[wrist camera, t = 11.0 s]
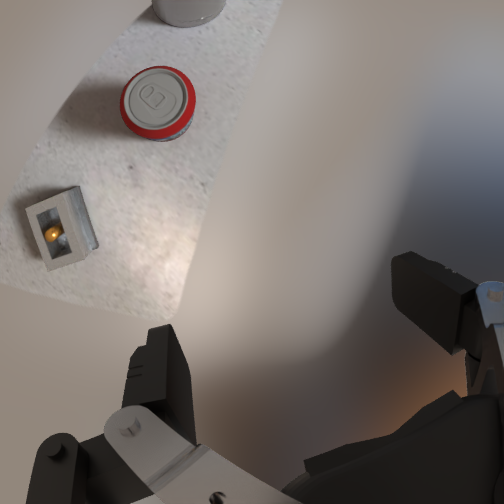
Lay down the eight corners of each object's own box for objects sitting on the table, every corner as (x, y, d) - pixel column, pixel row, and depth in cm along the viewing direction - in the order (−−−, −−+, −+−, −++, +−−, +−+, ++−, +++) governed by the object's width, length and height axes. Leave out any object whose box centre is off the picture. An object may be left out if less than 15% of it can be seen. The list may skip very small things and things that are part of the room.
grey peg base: (35, 204, 34) (16, 212, 29) (79, 185, 35) (64, 191, 30) (55, 261, 37) (39, 276, 31) (99, 246, 37) (87, 260, 32)
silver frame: (37, 203, 33) (25, 208, 30) (72, 188, 34) (61, 192, 30) (57, 262, 36) (48, 271, 32) (92, 250, 36) (84, 259, 33)
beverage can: (166, 153, 36) (157, 154, 25) (125, 118, 33) (99, 105, 22) (205, 111, 35) (213, 94, 24) (164, 76, 33) (155, 45, 22)
